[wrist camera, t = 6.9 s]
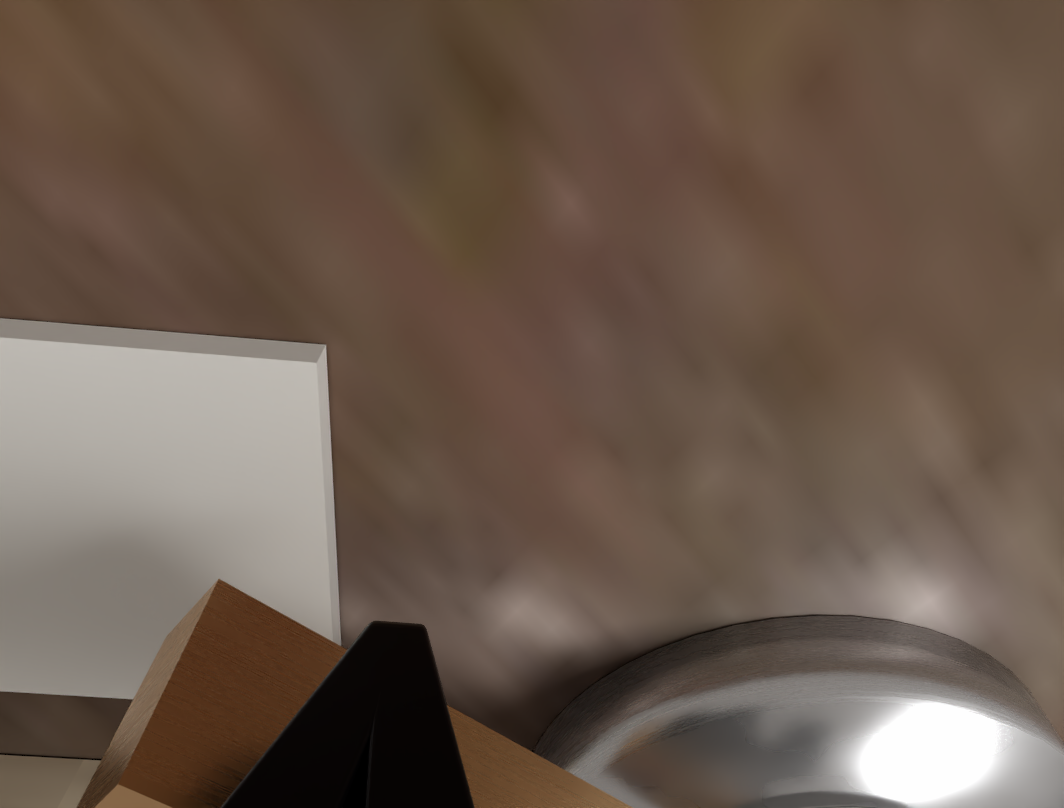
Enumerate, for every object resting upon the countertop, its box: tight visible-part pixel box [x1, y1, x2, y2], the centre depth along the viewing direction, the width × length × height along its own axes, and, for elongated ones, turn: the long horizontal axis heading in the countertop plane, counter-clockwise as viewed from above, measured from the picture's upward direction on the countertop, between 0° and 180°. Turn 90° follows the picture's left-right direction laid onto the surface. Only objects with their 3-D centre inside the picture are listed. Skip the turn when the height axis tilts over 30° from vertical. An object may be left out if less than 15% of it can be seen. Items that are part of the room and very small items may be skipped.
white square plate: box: [0, 318, 341, 699], centre depth 14 cm, size 8×8×1 cm
